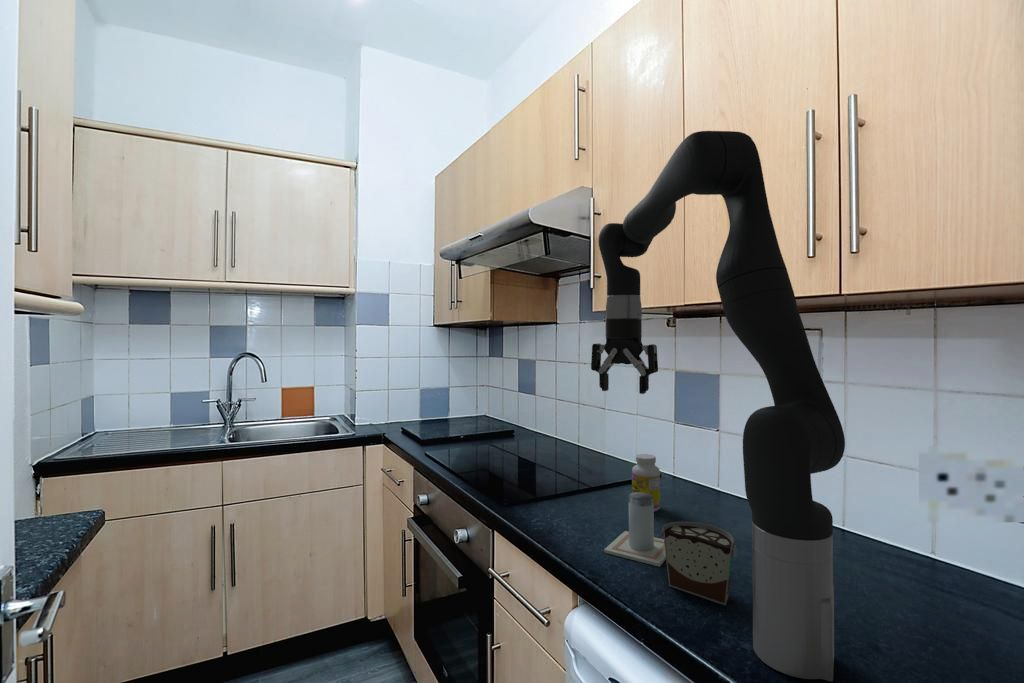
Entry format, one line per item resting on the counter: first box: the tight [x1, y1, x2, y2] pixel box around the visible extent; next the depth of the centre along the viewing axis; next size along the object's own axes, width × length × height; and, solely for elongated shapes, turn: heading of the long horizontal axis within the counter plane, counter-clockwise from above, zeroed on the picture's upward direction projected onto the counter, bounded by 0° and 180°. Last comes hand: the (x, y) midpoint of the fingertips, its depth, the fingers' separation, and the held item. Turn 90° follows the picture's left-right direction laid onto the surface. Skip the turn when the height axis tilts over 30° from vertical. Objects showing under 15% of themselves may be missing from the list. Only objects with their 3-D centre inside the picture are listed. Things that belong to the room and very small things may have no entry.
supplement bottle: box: [631, 453, 661, 512], centre depth 121 cm, size 7×7×13 cm
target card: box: [603, 530, 666, 568], centre depth 98 cm, size 11×11×1 cm
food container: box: [659, 521, 738, 606], centre depth 83 cm, size 12×6×10 cm, turn 48°
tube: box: [628, 492, 655, 551], centre depth 98 cm, size 5×5×10 cm
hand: (623, 392), depth 107 cm, fingers open, 8 cm apart
